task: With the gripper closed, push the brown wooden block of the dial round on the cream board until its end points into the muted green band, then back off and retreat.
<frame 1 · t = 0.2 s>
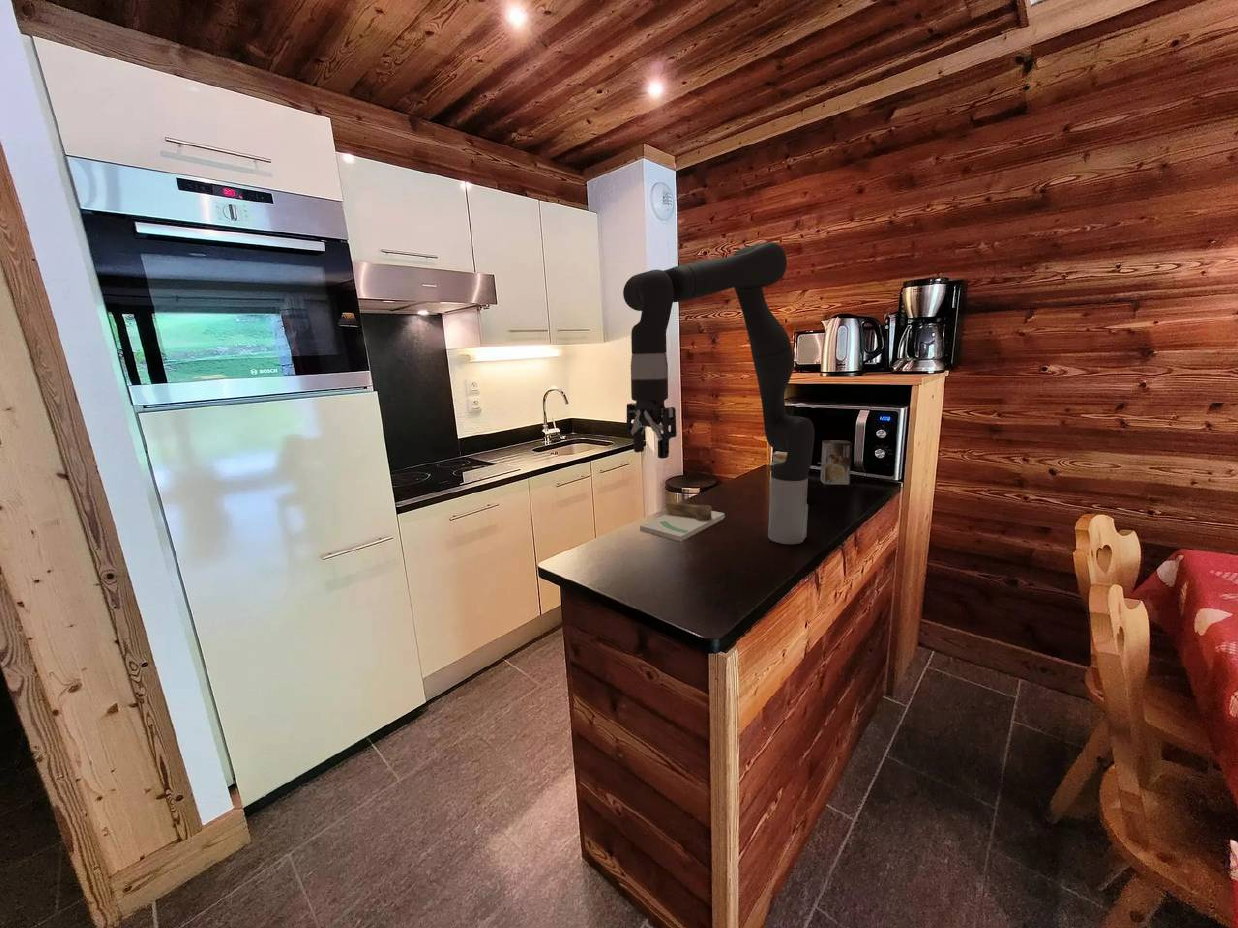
hand: (650, 454, 101), 29 cm above the worktop, tool pointing down, fingers open, 8 cm apart
dial board: (683, 524, 143), on the worktop
candy bar box: (787, 501, 162), on the worktop
brown wooden block: (688, 510, 144), point 4 cm above the worktop, hinge at 0.0°
coffee box: (834, 483, 183), on the worktop
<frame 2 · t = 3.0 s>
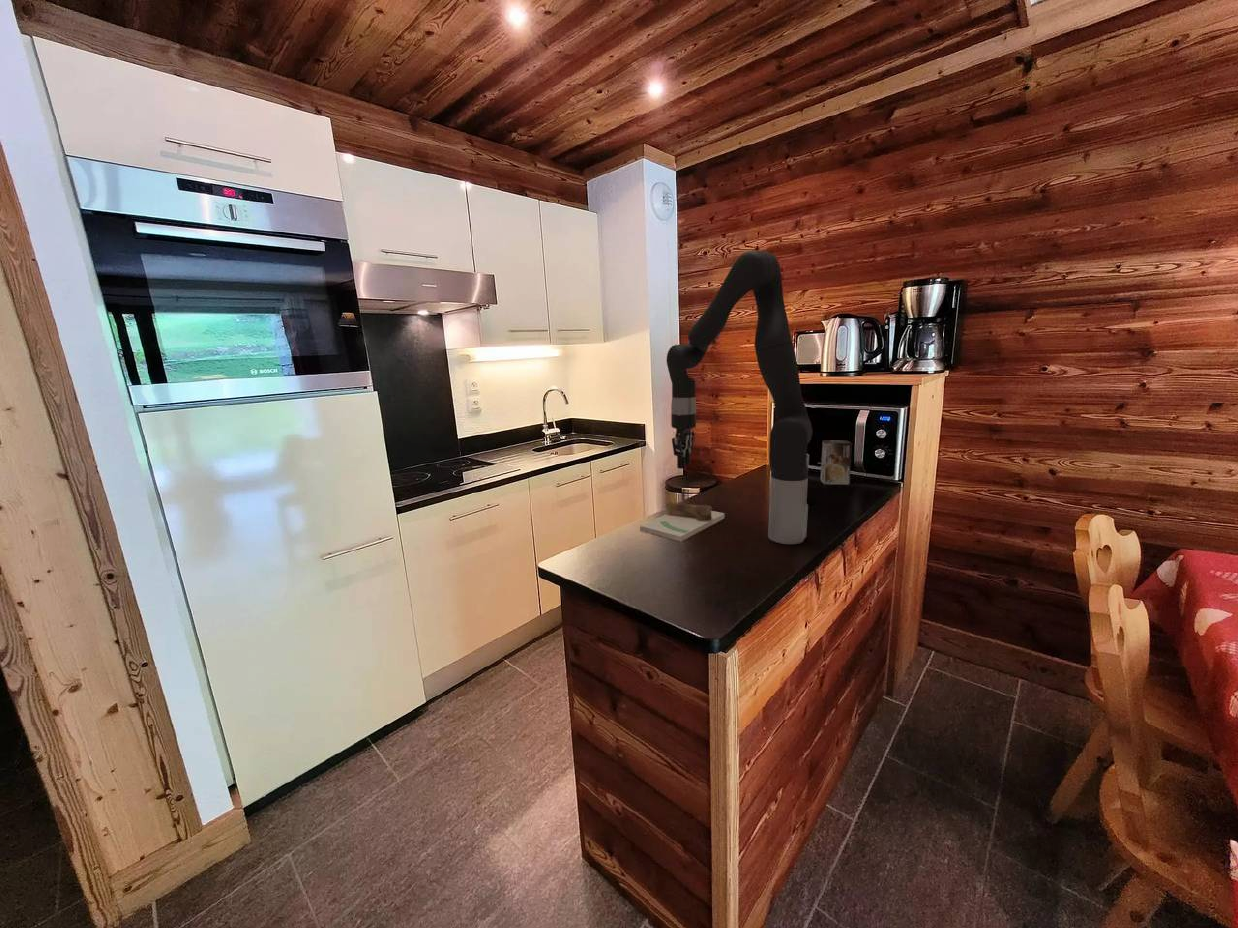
hand: (683, 466, 150), 15 cm above the worktop, tool pointing down, fingers open, 3 cm apart
nothing on the worktop moved.
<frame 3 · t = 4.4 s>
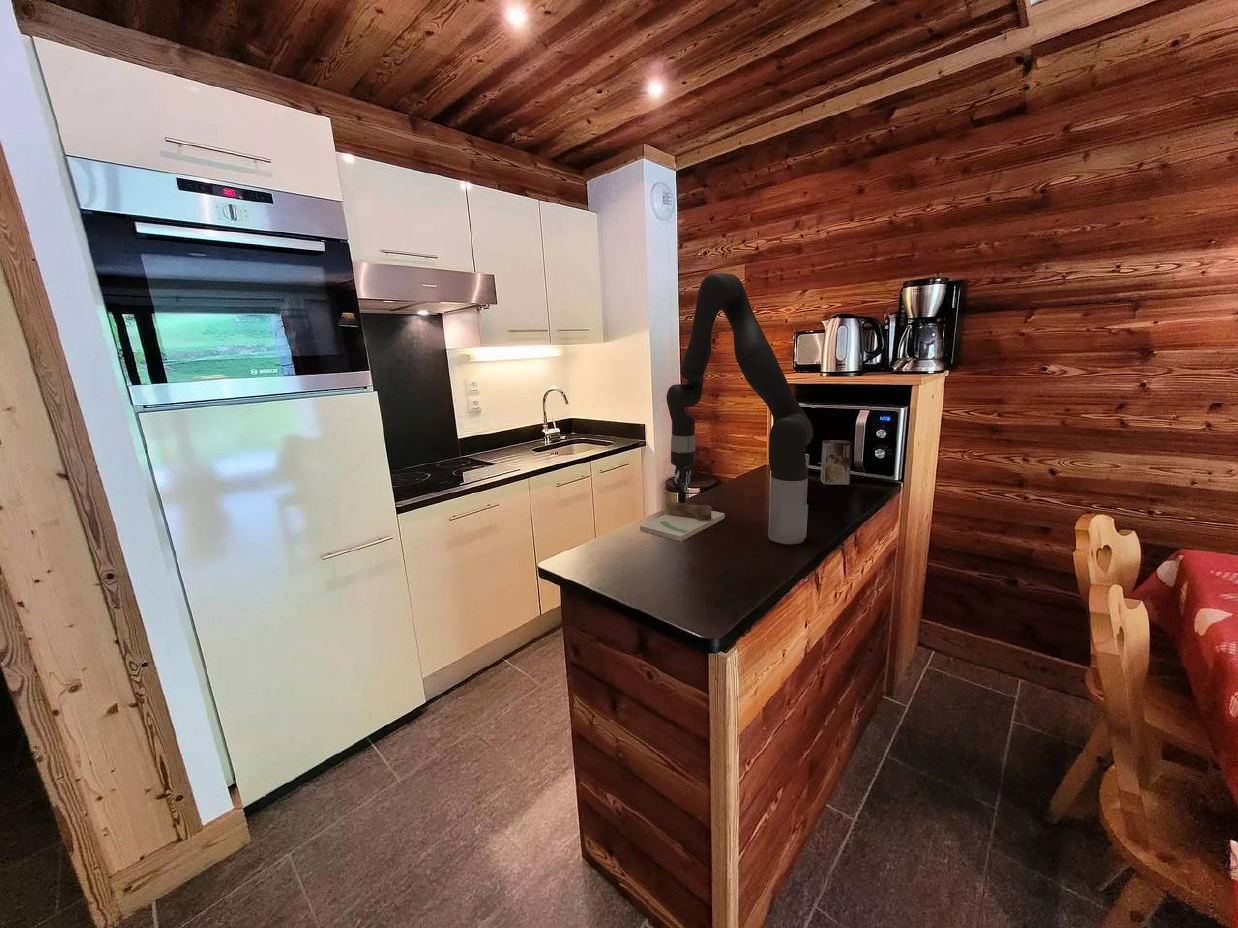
hand: (682, 502, 152), 4 cm above the worktop, tool pointing down, fingers closed
nothing on the worktop moved.
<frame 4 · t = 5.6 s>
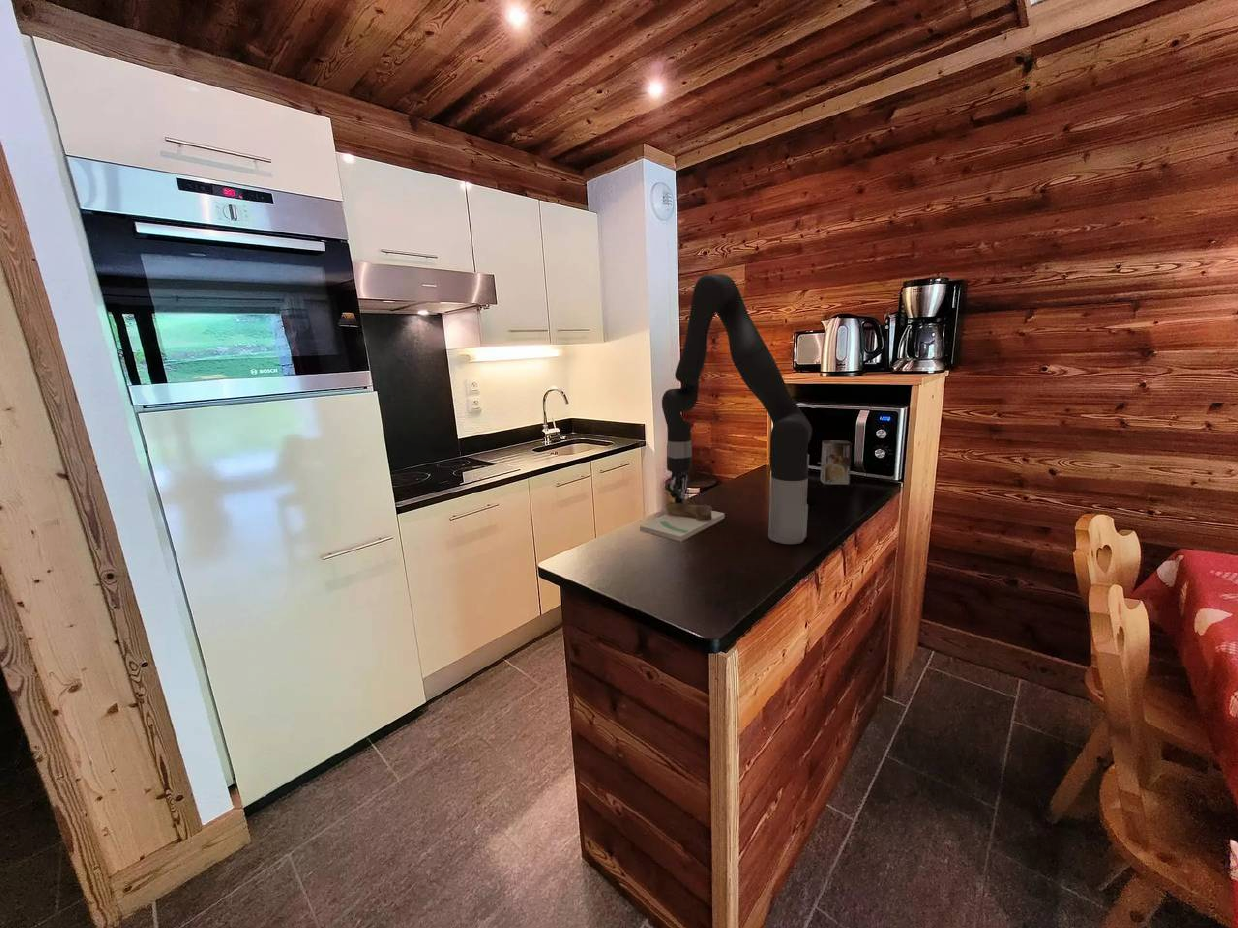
hand: (679, 509, 149), 2 cm above the worktop, tool pointing down, fingers closed
brown wooden block: (688, 510, 144), point 4 cm above the worktop, hinge at 0.0°, touching gripper
everything else where it was.
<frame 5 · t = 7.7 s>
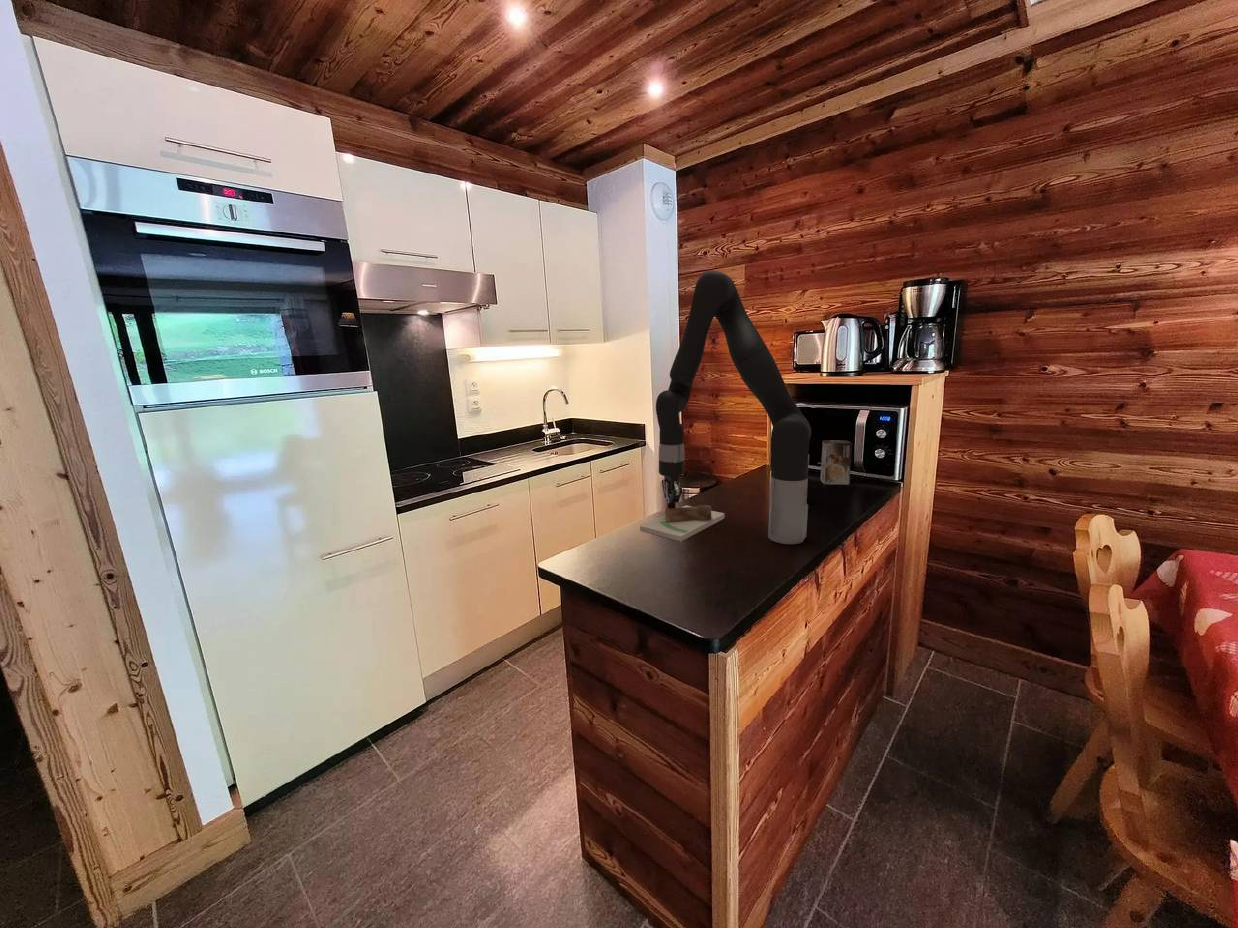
hand: (671, 514, 144), 3 cm above the worktop, tool pointing down, fingers closed
brown wooden block: (688, 513, 141), point 4 cm above the worktop, hinge at 35.8°, touching gripper
everything else where it was.
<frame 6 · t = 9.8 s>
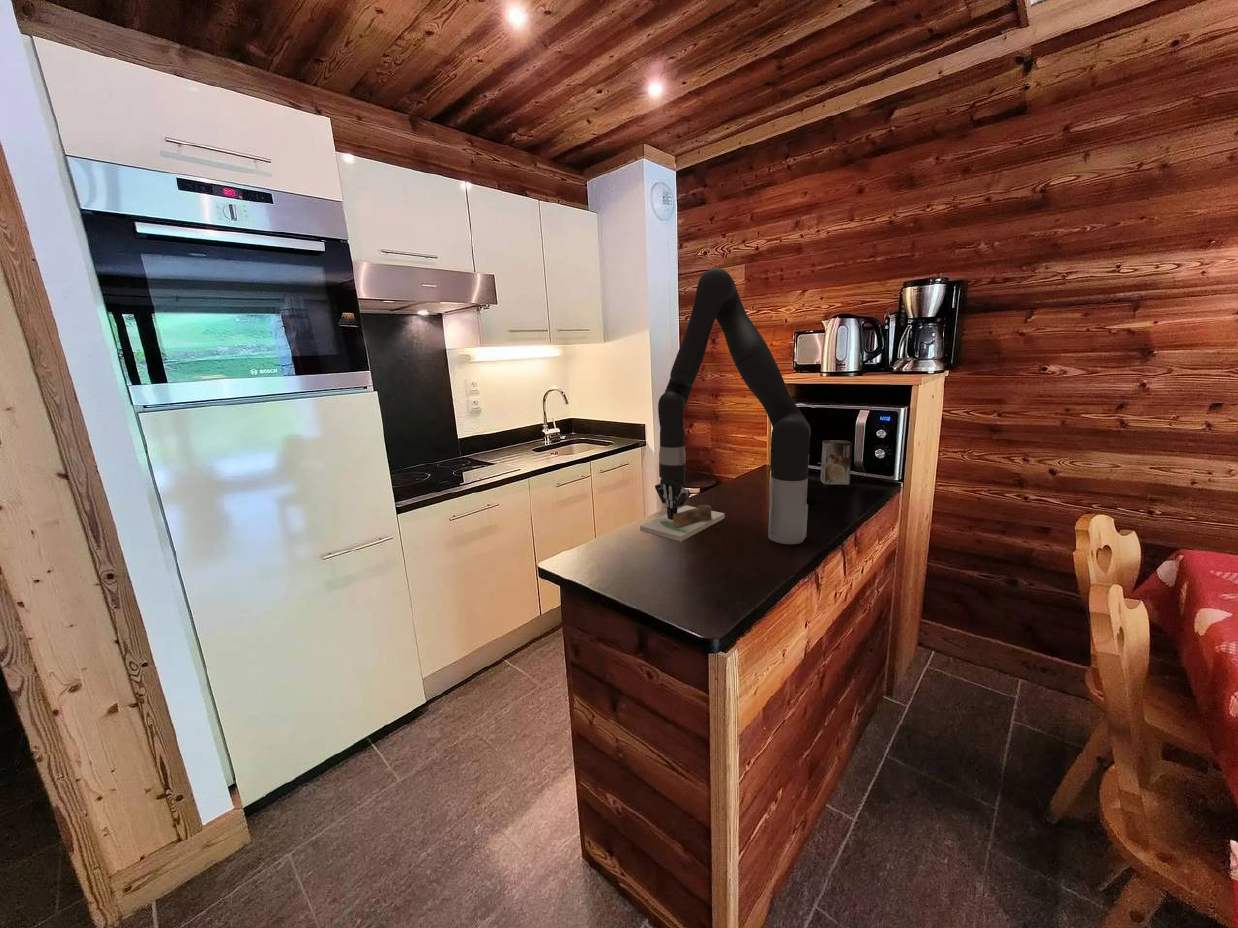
hand: (672, 518, 140), 3 cm above the worktop, tool pointing down, fingers closed
brown wooden block: (692, 515, 139), point 4 cm above the worktop, hinge at 64.6°
everything else where it was.
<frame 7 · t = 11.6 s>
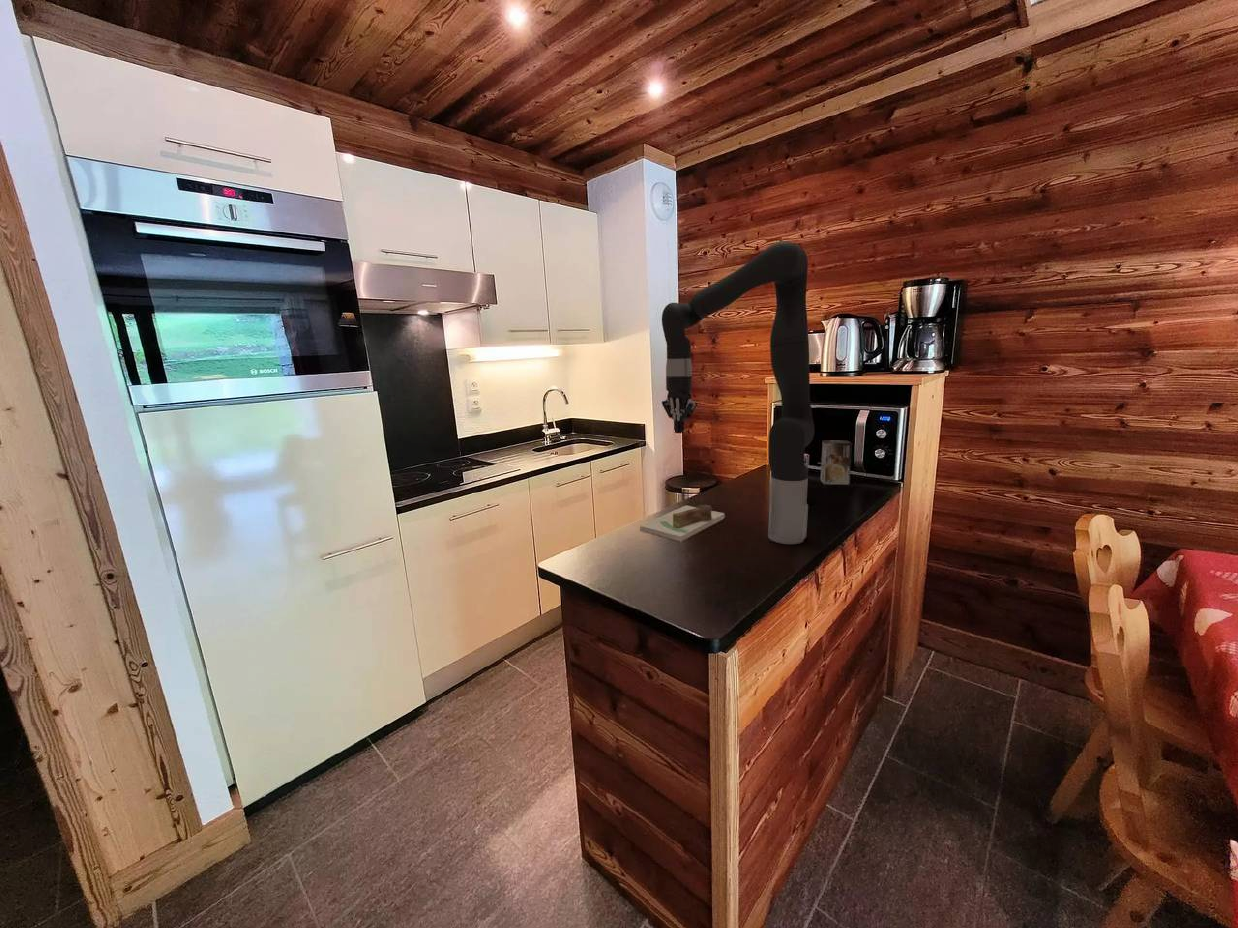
hand: (679, 432, 144), 26 cm above the worktop, tool pointing down, fingers closed
nothing on the worktop moved.
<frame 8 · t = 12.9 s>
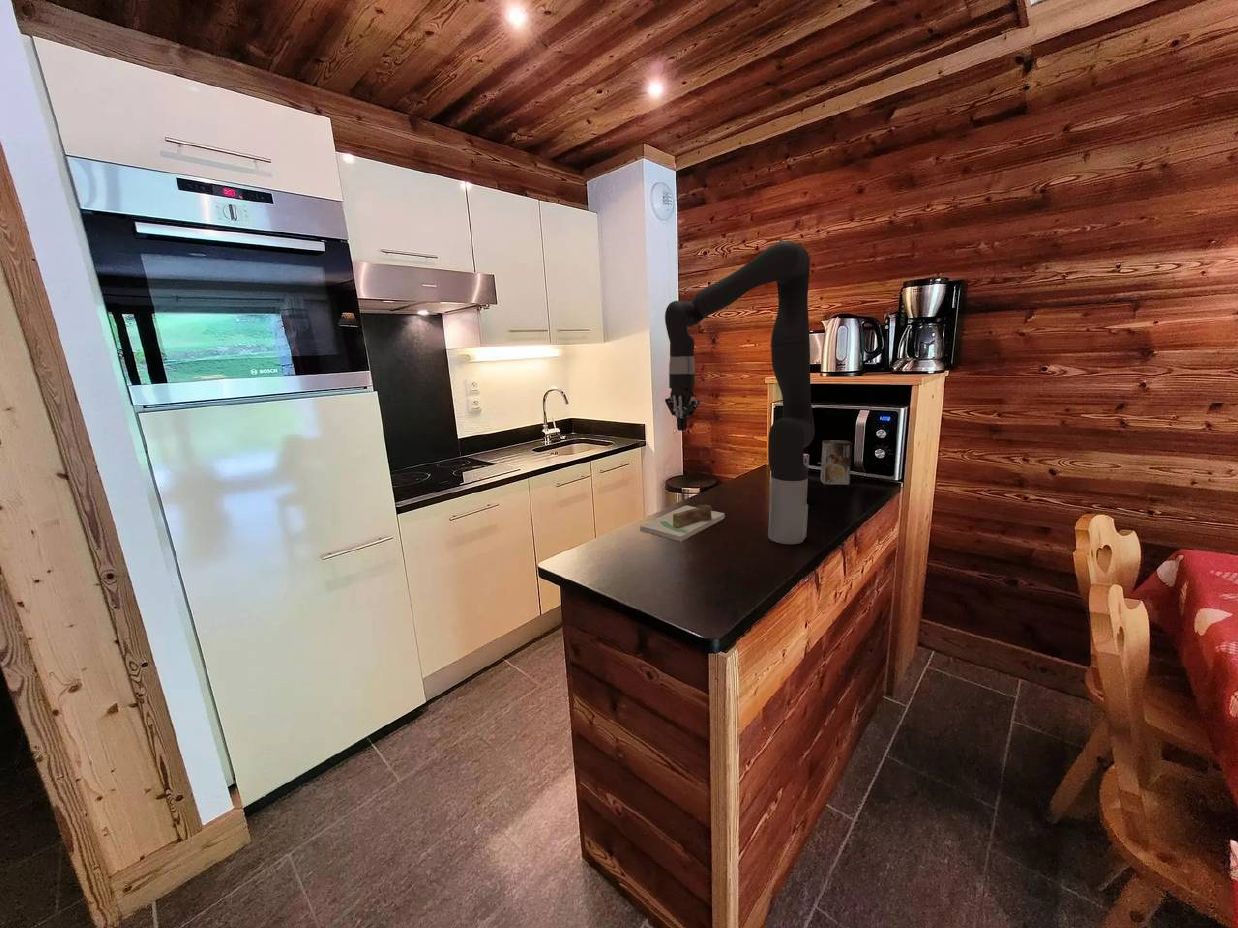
hand: (681, 430, 145), 27 cm above the worktop, tool pointing down, fingers closed
nothing on the worktop moved.
at the end: brown wooden block at +65° (first picture: +0°) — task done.
